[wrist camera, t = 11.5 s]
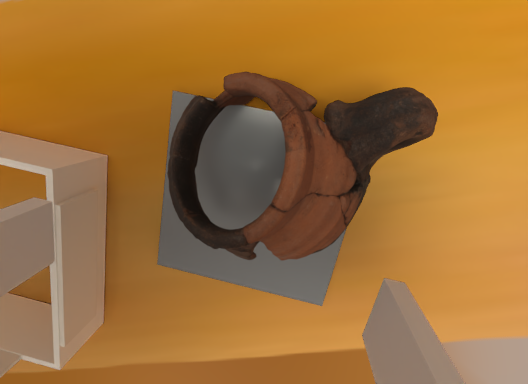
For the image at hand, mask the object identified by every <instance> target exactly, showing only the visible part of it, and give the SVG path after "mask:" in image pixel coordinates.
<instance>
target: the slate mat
mask: <svg viewBox="0 0 528 384" xmlns="http://www.w3.org/2000/svg"><path fill="white" fill-rule="evenodd" d="M195 96H197V95H192V94H187V93H183V92H178V91H173V96H172V107H171V118H170V129H169V141H168V152H167V163H166V174H165V185H164V196H163V207H162V218H161V230H160V241H159V252H158V263H157V264H158V265H162V266H166V267H170V268H173V269H177V270H181V271H185V272H189V273H193V274H197V275H201V276H205V277H209V278H213V279H217V280H221V281H225V282H229V283H233V284H237V285H241V286H245V287H249V288H253V289H257V290H261V291H265V292H269V293H273V294H277V295H281V296H284V297H288V298H292V299H296V300H300V301H304V302H308V303H312V304H316V305H320V306H322V304H323V301H324V298H325V295H326V292H327V288H328V285H329V282H330V279H331V276H332V272H333V269H334V266H335V263H336V260H337V257H338V253H339V250H340V247H341V244H342V241H343V237H344V234H345V231H346V229H345V230H344V232H343V233H342V234H341V235H340V236H339V238H338V239H337V240H336V241H335V242H334V243H333V244H331V245H329V246H328V247H326V248H325V249H323V250H322V251H319V252H316V253H313V254H310V255H308V256H306V257H303V258H300V259H288V260H283V261H282V260H280V259H279V258H278V257H276V256H275V255H273V254H272V252H271V251H269V250H268V249H267V248H266V246H265V244H264V243H262V242H261V241H260V242H259V243H258V244H257V245H256V247H255V248H254V251H253V252H254V253H255V254H256V258H255V259H252V260H246V259H243V258H240V257H237V256H235V255H234V254H233V253H231V252H229V251H227V250H226V249H221V248H218V249H213V248H212V247H210V246H207V245H206V244H204V243H203V242H201V241H200V240H199V239H196V238H195V237H194V236H193V234H192V233H190V232H189V230H188V229H187V228H186V227H185V226H184V224H183V222H181V221H180V219H179V217H178V215H177V213H176V212H175V209H174V206H173V204H172V199H171V196H170V192H169V179H168V175H167V172H168V161H169V158H170V154H169V152H170V146H171V141H172V137H173V134H174V131H175V129H176V126H177V123H178V121H179V120H180V118H181V116H182V113H183V112H184V110H185V109H186V107H187V106H188V104H189V103H190V101H191V100H192V99H193V98H194V97H195ZM205 98H206V97H205ZM207 99H208V100H210V101H213V100H214V99H211V98H207ZM324 123H326V122H324ZM284 164H285V138H284V133H283V129H282V123H281V121H280V120H279V119H278V117H277V116H276V114H275V113H274V111H269V110H264V109H259V108H254V107H250V106H245V105H229V106H226V107H225V108H224V109H223V110H222V111H221V112H220V113H219V114H218V116H217V117H216V118H215V119H214V120H213V121H212V123H211V124H210V125H209V127H208V129H207V130H206V132H205V134H204V136H203V139H202V142H201V146H200V150H199V155H198V161H197V166H196V168H195V176H196V183H197V192H198V199H199V202H200V204H201V207H202V209H203V211H204V213H205V214H206V215H207V216H208V218H209V219H210V221H211V222H212V223H214V224H215V225H217V226H219V227H221V228H224V229H229V230H233V229H239V228H243V227H244V226H246V225H247V224H249V223H251V222H253V221H254V220H256V219H257V218H258V217H259V216H260V215H261V214H262V213H263V212H264V211H265V210H266V208H267V207H268V206H269V205H270V204H271V202H272V200H273V198H274V196H275V194H276V192H277V190H278V187H279V185H280V182H281V178H282V175H283V170H284Z"/></svg>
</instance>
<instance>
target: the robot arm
mask: <svg viewBox="0 0 528 384" xmlns="http://www.w3.org/2000/svg"><path fill="white" fill-rule="evenodd" d="M53 262H55V253H54V228H53V203H52V201H48V200H44V199H39V198H35V197H34V198H31V199H28V200H25V201H22V202H20V203H17V204H14V205H11V206H8V207H6V208H3V209H0V297H1V296H3V295H4V294H6V293H8V292H9V291H11V290H12V289H14V288H15V287H17V286H18V285H20V284H21V283H23V282H24V281H26V280H27V279H29V278H30V277H32V276H34V275H35V274H37V273H38V272H40V271H41V270H43V269H44V268H46V267H47V266H49V265H50V264H52V263H53ZM362 336H363V340H364V344H365V347H366V351H367V354H368V358H369V361H370V365H371V368H372V372H373V375H374V379H375V382H376V384H465V382H464V380H463V379H462V377H461V375H460V374H459V372H458V370H457V369H456V367H455V365H454V364H453V362H452V360H451V359H450V357H449V355H448V354H447V352H446V350H445V349H444V347H443V345H442V344H441V342H440V340H439V339H438V337H437V335H436V334H435V332H434V330H433V329H432V327H431V325H430V324H429V322H428V320H427V319H426V317H425V316H424V314H423V312H422V311H421V309H420V307H419V306H418V304H417V302H416V301H415V299H414V297H413V296H412V294H411V292H410V291H409V289H408V287H407V286H406V284H405V283H404V282H399V281H395V280H391V279H386V278H384V280H383V283H382V285H381V288H380V290H379V293H378V296H377V298H376V301H375V303H374V306H373V309H372V311H371V314H370V316H369V319H368V322H367V324H366V327H365V329H364V332H363V335H362Z"/></svg>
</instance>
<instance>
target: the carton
mask: <svg viewBox="0 0 528 384" xmlns="http://www.w3.org/2000/svg"><path fill="white" fill-rule="evenodd" d="M107 162H108V155H104V154H100V153H95V152H91V151H86V150H82V149H78V148H73V147H69V146H64V145H60V144H56V143H51V142H47V141H43V140H38V139H34V138H29V137H25V136H21V135H16V134H12V133H7V132H3V131H0V164H1V165H5V166H9V167H13V168H17V169H22V170H26V171H30V172H34V173H39V174H43V175H46V195H47V200H48V201H52V203H53V228H54V253H55V262H53V263H52V264H50V281H51V303H52V305H51V304H47V303H44V302H40V301H36V300H33V299H29V298H25V297H21V296H18V295H14V294H10V293H6V294H4V295H3V296H1V297H0V377H2V376H3V375H4V374H5V373H6V372H7V371H8V370H9V369H10V368H12V367H13V366H14V365H15V364H16V363H17V362H18V361H19V360H20V359H23V360H27V361H30V362H34V363H37V364H41V365H44V366H48V367H51V368H55V369H58V370H61V368H62V367H63V366H64V365H65V364H66V363H67V362H68V361H69V360H70V359H71V358H72V356H73V355H74V354H75V353H76V352H77V351H78V350H79V349H80V348H81V347H82V346H83V345H84V343H85V342H86V341H87V340H88V339H89V338H90V337H91V336H92V335H93V334H94V333H95V331H96V330H97V329H98V328H99V327H100V326H101V325H102V324H103V323H104V288H105V246H106V204H107Z"/></svg>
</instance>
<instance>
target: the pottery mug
mask: <svg viewBox="0 0 528 384" xmlns="http://www.w3.org/2000/svg"><path fill="white" fill-rule="evenodd" d="M224 90H225V91H224V92H222V93H221V94H220V95H219V96H218V97H216V98H215V99H214V100H213V101H210V100H208V99H207V98H205V97H203V96H195V97H194V98H193V99H192V100H191V101H190V103H189V104H188V106H187V107H186V109H185V110H184V112H183V113H182V116H181V118H180V120H179V121H178V123H177V126H176V129H175V131H174V134H173V137H172V141H171V146H170V152H169V154H170V158H169V161H168V172H167V175H168V179H169V192H170V196H171V199H172V204H173V206H174V209H175V212H176V213H177V215H178V217H179V219H180V221H181V222H183V224H184V226H185V227H186V228H187V229H188V230H189V232H190V233H192V234H193V236H194V237H195V238H196V239H199V240H200V241H201V242H203V243H204V244H206V245H207V246H210V247H212V248H213V249H218V248H221V249H226V250H227V251H229V252H231V253H233V254H234V255H235V256H237V257H240V258H243V259H246V260H252V259H255V258H256V254H255V253H254V252H253V251H254V248H255V247H256V245H257V244H258V243H259V242H260V241H261V242H262V243H264V244H265V246H266V248H267V249H268V250H269V251H271V252H272V254H273V255H275V256H276V257H278V258H279V259H280V260H282V261H283V260H288V259H300V258H303V257H306V256H308V255H310V254H313V253H316V252H319V251H322V250H323V249H325V248H326V247H328V246H329V245H331V244H333V243H334V242H335V241H336V240H337V239H338V238H339V236H340V235H341V234H342V233H343V232H344V230H345V229H346V228H347V226H348V224H349V223H350V221H351V220H352V218H353V216H354V215H355V213H356V211H357V209H358V207H359V206H360V204H361V202H362V199H363V197H364V195H365V192H366V189H367V186H368V184H369V183H370V175H369V172H370V169H371V167H372V166H373V165H374V164H375V162H376V161H377V160H378V159H380V158H381V157H382V156H383V155H385V154H387V153H390V152H392V151H394V150H398V149H401V148H404V147H407V146H409V145H412V144H414V143H417V142H419V141H421V140H424V139H426V138H428V137H430V136H431V135H432V134H433V132H434V129H435V124H436V122H437V116H438V112H437V110H436V108H435V106H434V104H433V103H432V101H431V100H430V99H429V98H427V97H426V96H425V95H424V94H422V93H420V92H418V91H417V90H415V89H413V88H408V87H403V88H397V89H392V90H389V91H385V92H382V93H378V94H375V95H373V96H370V97H368V98H366V99H364V100H362V101H359V102H356V103H344V102H342V101H339V100H337V101H334V102H333V103H330V104H328V105H327V107H326V108H325V112H324V119H325V122H326V123H324V122H323V121H322V120H321V119H320V118H318V117H315V116H314V115H313V114H312V113H311V112H310V111H312V109H313V108H314V107H315V106H316V104H317V100H315V98H314V97H312V96H311V95H309V94H308V93H306V92H305V91H303V90H301V89H299V88H297V87H295V86H293V85H291V84H289V83H287V82H284V81H280V80H277V79H271V78H267V77H265V76H262V75H259V74H256V73H249V72H242V73H234V74H230V75H228V76H226V77H224ZM254 97H258V98H260V99H262V100H263V101H264V102H266V103H267V104H268V105H269V106H270V107H271V109H272V110H273V111H274V113H275V114H276V116H277V117H278V119H279V120H280V121H281V123H282V129H283V133H284V138H285V164H284V170H283V175H282V178H281V182H280V185H279V187H278V190H277V192H276V194H275V196H274V198H273V200H272V202H271V204H270V205H269V206H268V207H267V208H266V210H265V211H264V212H263V213H262V214H261V215H260V216H259V217H258V218H257V219H256V220H254V221H253V222H251V223H249V224H247V225H246V226H244V227H243V228H239V229H233V230H229V229H224V228H221V227H219V226H217V225H215V224H214V223H212V222H211V221H210V219H209V218H208V216H207V215H206V214H205V213H204V211H203V209H202V207H201V204H200V202H199V199H198V192H197V183H196V176H195V168H196V166H197V161H198V155H199V150H200V146H201V142H202V139H203V136H204V134H205V132H206V130H207V129H208V127H209V125H210V124H211V123H212V121H213V120H214V119H215V118H216V117H217V116H218V114H219V113H220V112H221V111H222V110H223V109H224V108H225V107H226V106H229V105H245V104H247V103H249V102H250V101H251V100H252V99H253V98H254Z"/></svg>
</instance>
